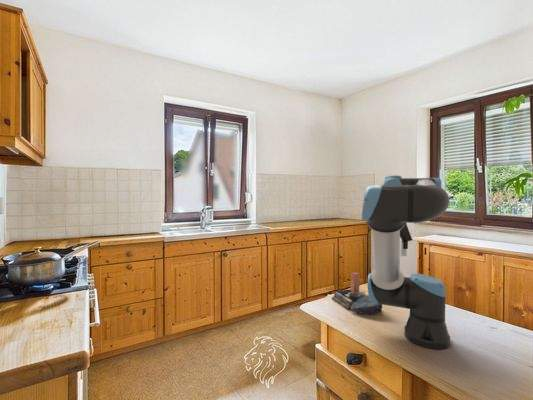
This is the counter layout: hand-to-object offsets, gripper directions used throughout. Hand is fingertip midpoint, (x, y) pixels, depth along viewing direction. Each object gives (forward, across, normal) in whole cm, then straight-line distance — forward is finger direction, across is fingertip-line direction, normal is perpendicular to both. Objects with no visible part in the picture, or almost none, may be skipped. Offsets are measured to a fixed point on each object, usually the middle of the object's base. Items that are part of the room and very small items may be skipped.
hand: (391, 253), depth 134 cm
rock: (+27, 0, +13) cm, 30 cm away
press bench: (+26, +13, +12) cm, 32 cm away
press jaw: (+25, +12, +12) cm, 30 cm away
